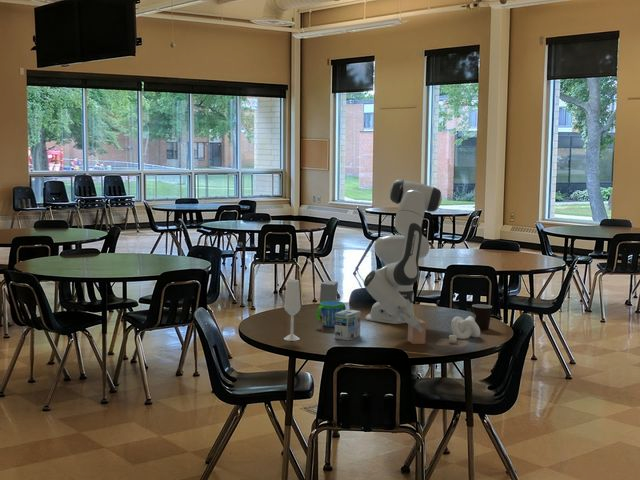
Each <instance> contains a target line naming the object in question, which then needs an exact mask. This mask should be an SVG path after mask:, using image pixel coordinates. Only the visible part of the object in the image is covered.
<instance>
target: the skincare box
mask: <svg viewBox="0 0 640 480" xmlns="http://www.w3.org/2000/svg"><path fill="white" fill-rule="evenodd" d="M338 284H339V282H338V281H336V280H335V281H334V280H324V281H323V282H321V283H320V292H319V294H320V295H319V303H320V302H323V301H338V288H339V287H338V286H339V285H338ZM320 318H322V316H321V310H320Z"/></svg>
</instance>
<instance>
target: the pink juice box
mask: <svg viewBox="0 0 640 480" xmlns="http://www.w3.org/2000/svg"><path fill="white" fill-rule="evenodd" d="M416 318H417V317H416ZM417 319H418V320H419V321H420V323H419V325H420V326H421V327H422V328H423V331H422V332H419V331H418V330H417V329H416V328H413V327H412V326H410V325H409V324H408V323H407V324H408V325H407V341H408V342H410V344H413V345H417V344H419V345H420V344H426V335H427V333H426V331H427V323H426V322H425V321H424V320H423V319H420V318H417Z"/></svg>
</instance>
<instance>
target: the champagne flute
mask: <svg viewBox="0 0 640 480" xmlns="http://www.w3.org/2000/svg"><path fill="white" fill-rule="evenodd" d="M300 292H301V291H300V280H298V279H287V280H286V289H285V296H284V306H283V307H284V311H285V312H286V313H287V314H288V315H290V334H288V335H286V336H285V337H284V338H283V339H284V340H285V341H288V342H289V341H293V342H294V341H299V340H300V339H301V338H300V337H298V336H297V335H296V334H294V323H295V322H294V320H295V319H294V318H295V317H294V316H295V315H297V314H298V313H299V312H300V310H301V306H302V305H301V293H300Z"/></svg>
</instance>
